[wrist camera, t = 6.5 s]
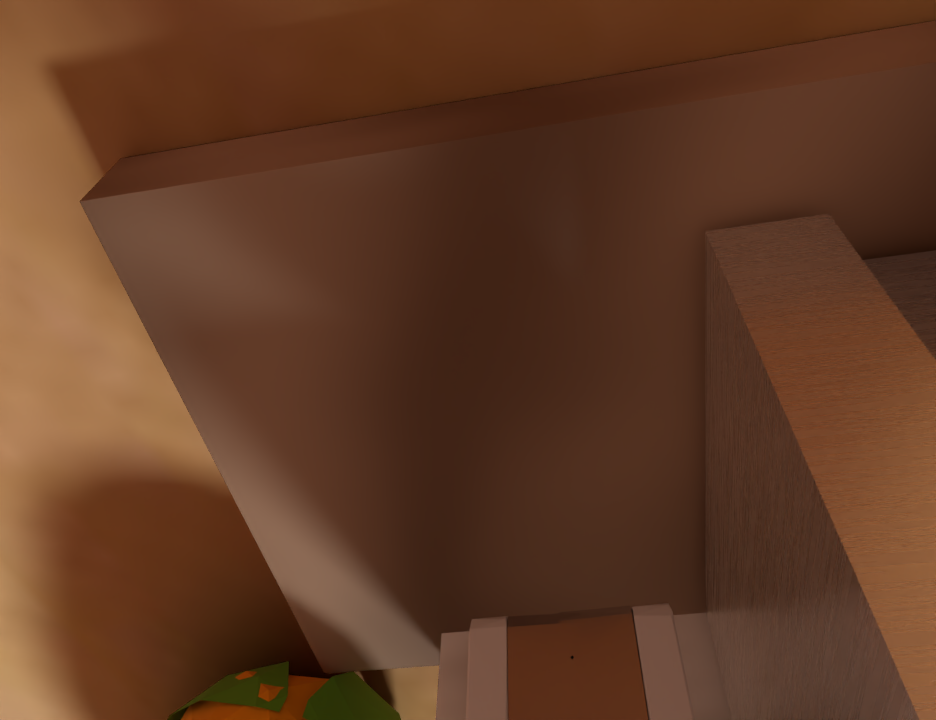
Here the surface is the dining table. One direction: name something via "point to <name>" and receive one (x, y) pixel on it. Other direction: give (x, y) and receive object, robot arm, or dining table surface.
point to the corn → (287, 698)
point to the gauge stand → (499, 328)
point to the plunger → (820, 474)
